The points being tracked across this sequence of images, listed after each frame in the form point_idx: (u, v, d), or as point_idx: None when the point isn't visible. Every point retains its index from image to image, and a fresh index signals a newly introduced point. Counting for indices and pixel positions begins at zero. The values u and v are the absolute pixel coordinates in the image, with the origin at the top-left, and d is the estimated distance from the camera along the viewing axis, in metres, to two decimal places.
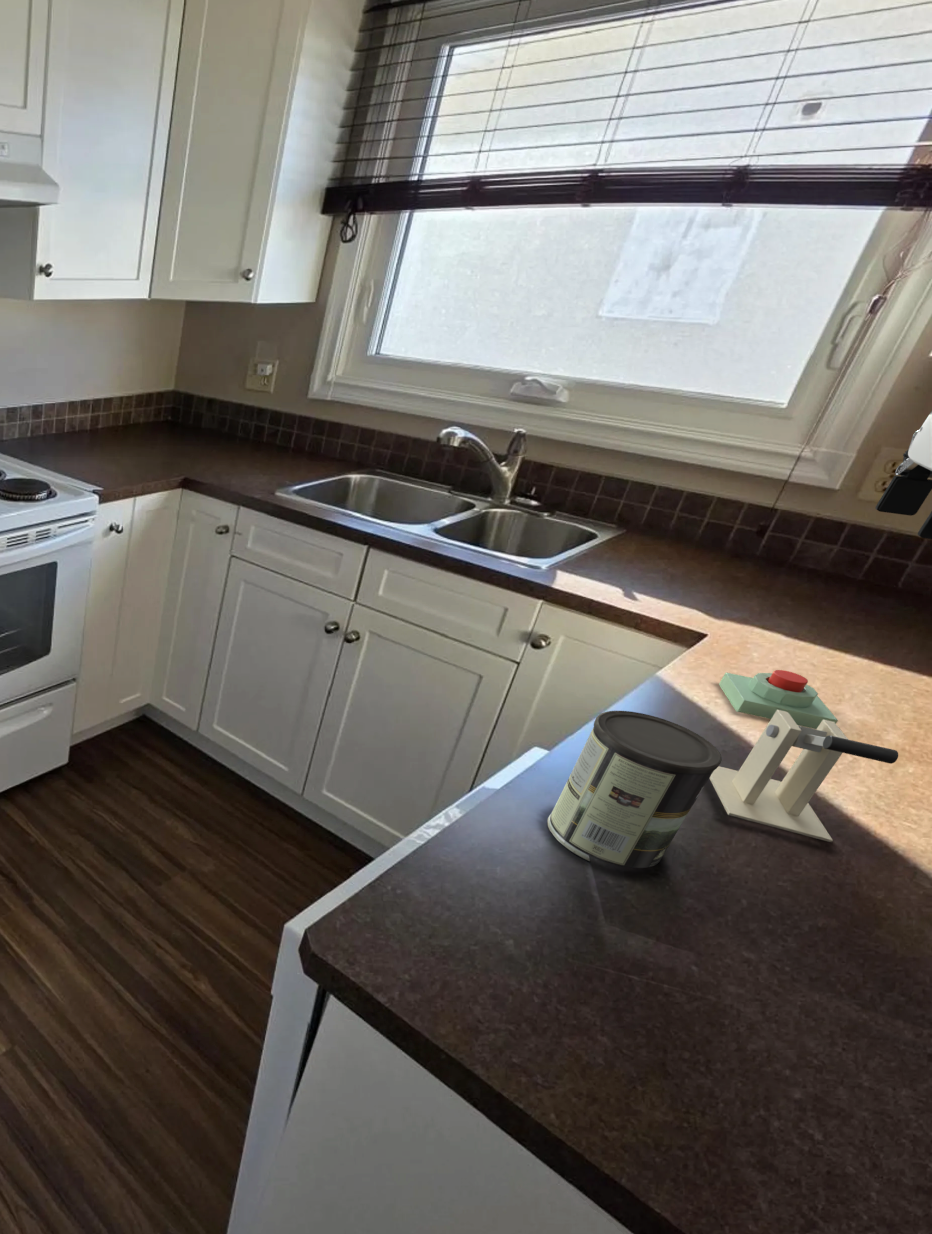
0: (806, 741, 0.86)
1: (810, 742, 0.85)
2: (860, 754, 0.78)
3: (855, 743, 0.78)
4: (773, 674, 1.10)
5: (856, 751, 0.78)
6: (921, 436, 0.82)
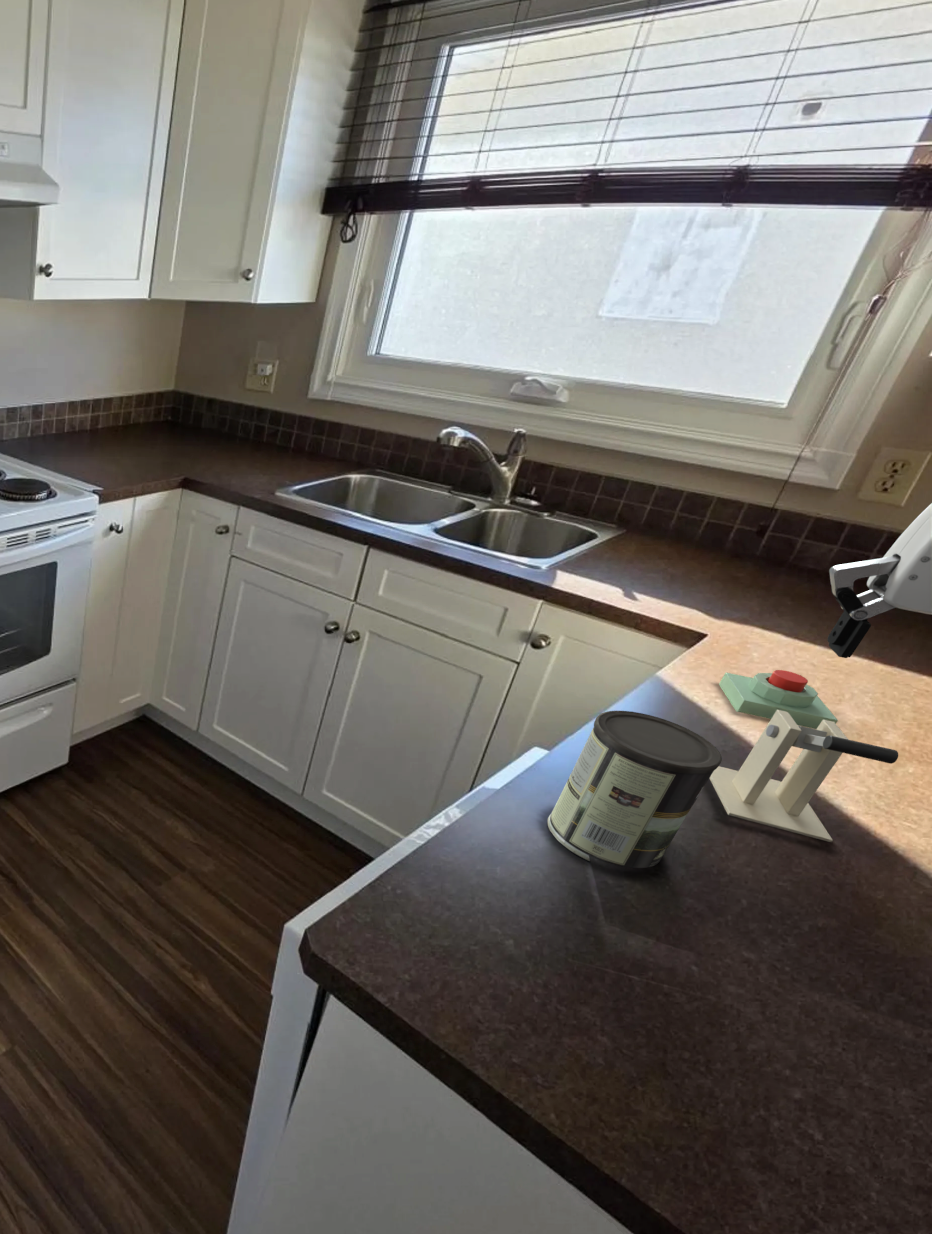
0: (806, 741, 0.86)
1: (810, 742, 0.85)
2: (860, 754, 0.78)
3: (855, 743, 0.78)
4: (773, 674, 1.10)
5: (856, 751, 0.78)
6: (926, 585, 0.71)
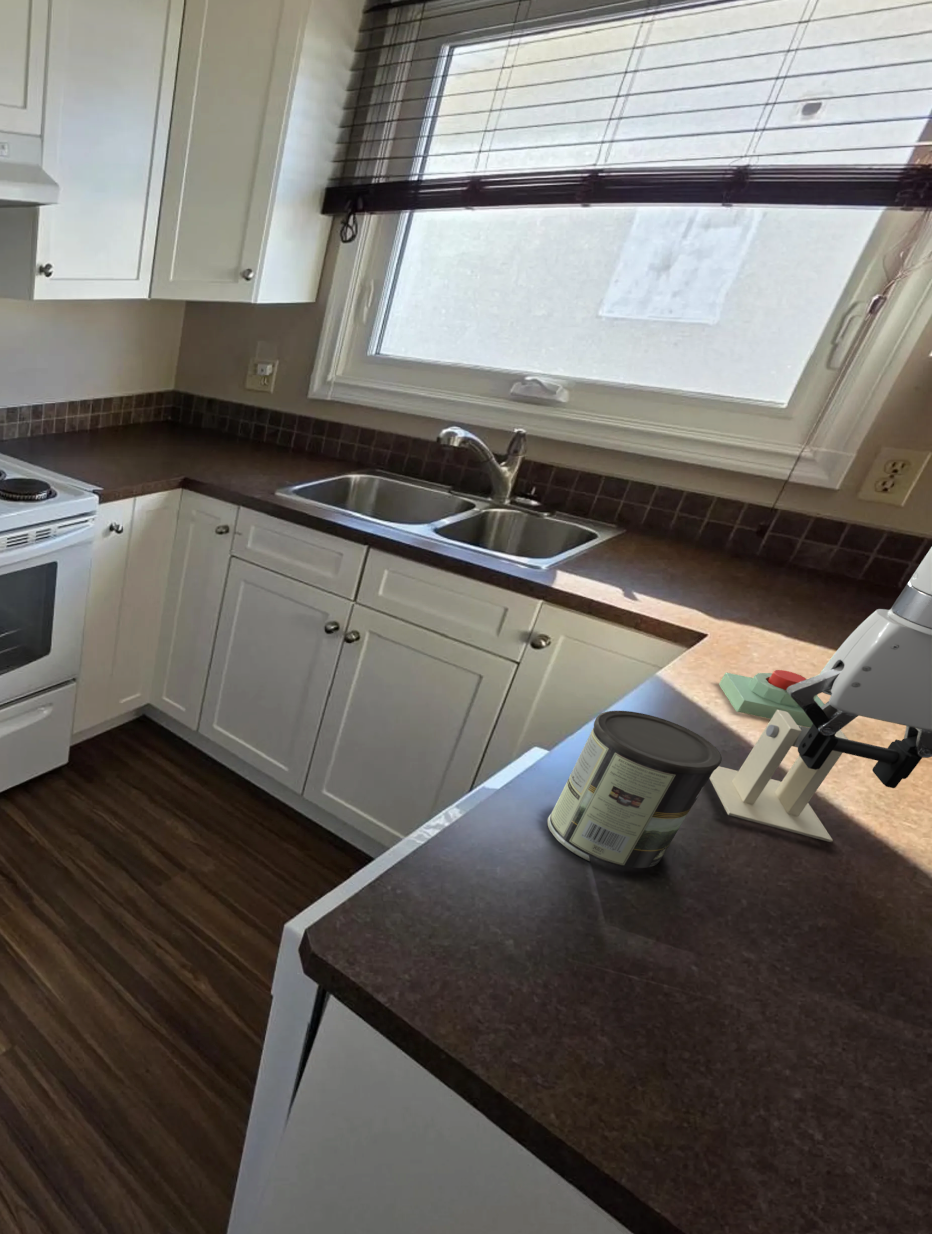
0: None
1: None
2: (860, 754, 0.78)
3: (855, 743, 0.78)
4: (773, 674, 1.10)
5: (856, 751, 0.78)
6: (868, 693, 0.75)
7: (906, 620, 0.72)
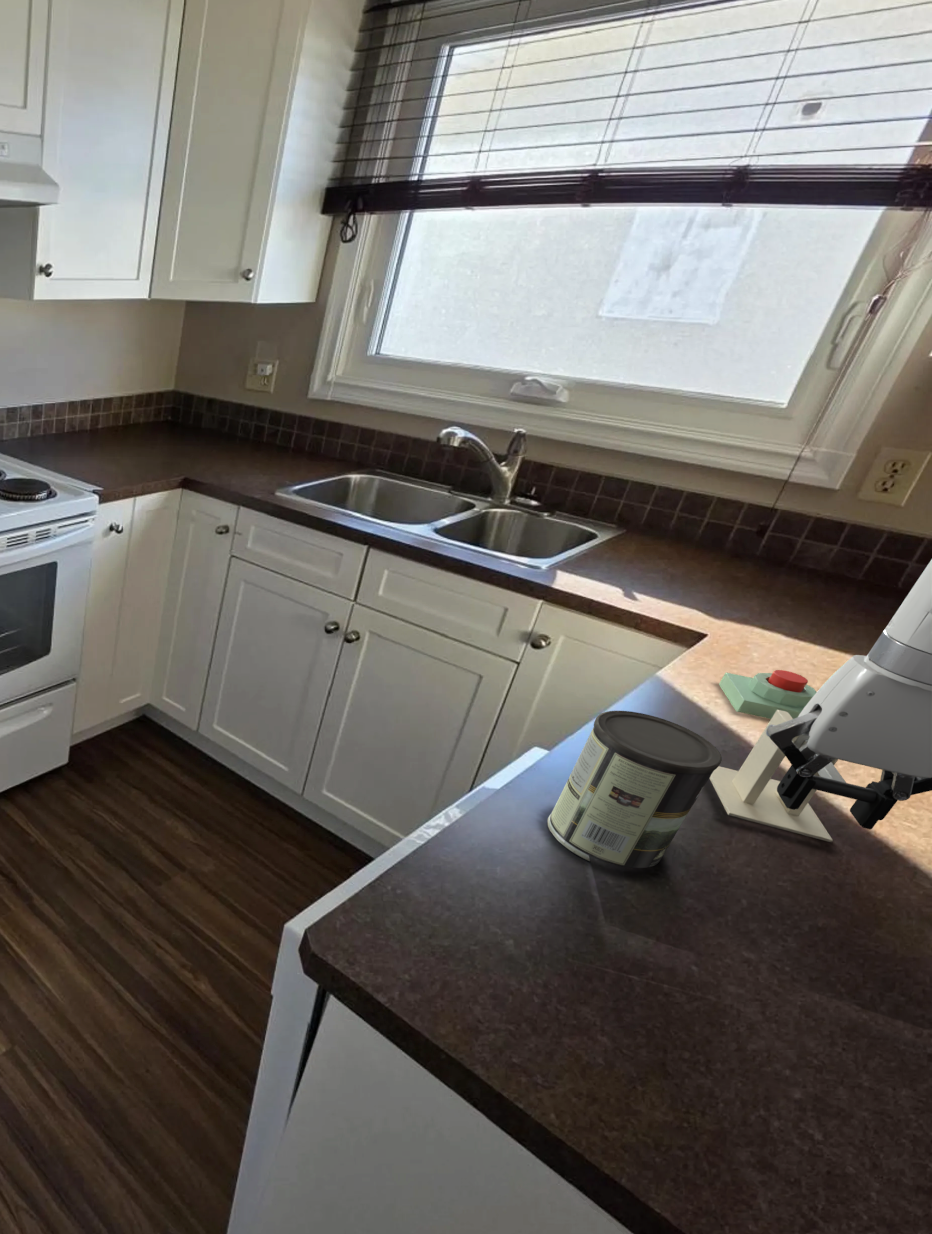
0: None
1: None
2: (837, 794, 0.80)
3: (835, 785, 0.79)
4: (773, 674, 1.10)
5: (834, 792, 0.80)
6: (844, 737, 0.76)
7: (881, 668, 0.73)
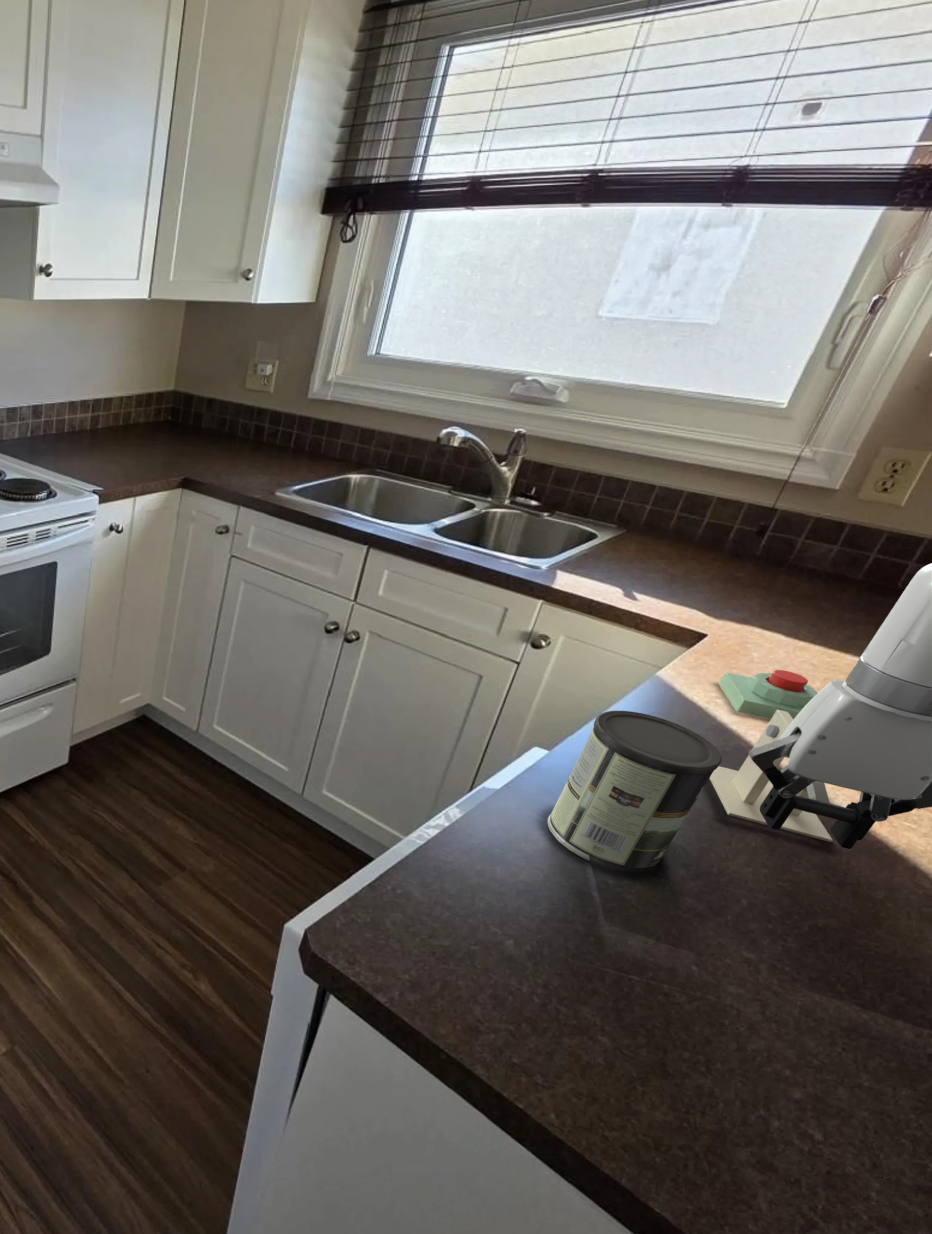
0: None
1: None
2: (818, 814, 0.82)
3: (816, 807, 0.81)
4: (773, 674, 1.10)
5: (814, 813, 0.82)
6: (823, 760, 0.78)
7: (858, 693, 0.75)
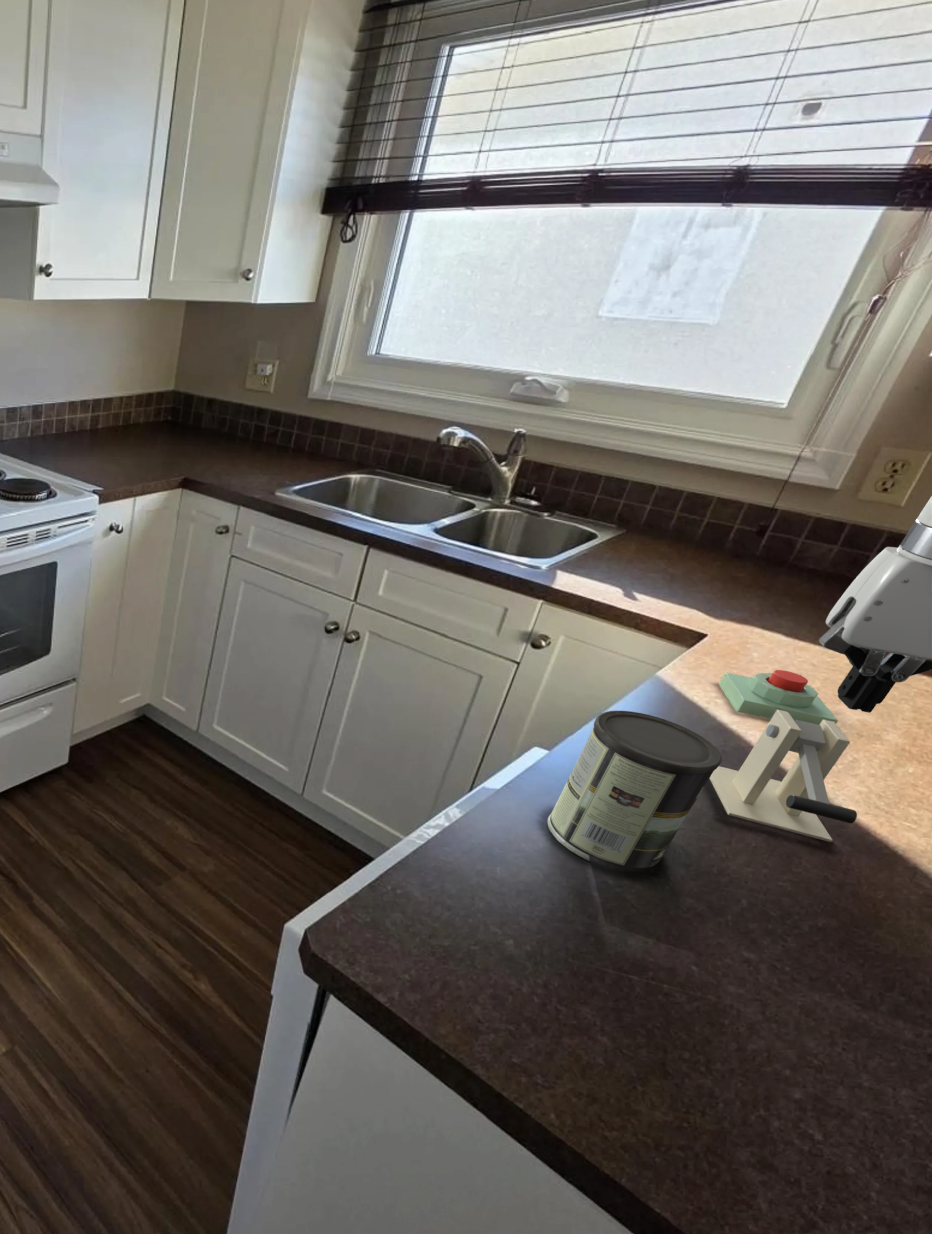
0: (798, 751, 0.87)
1: (799, 756, 0.86)
2: (817, 814, 0.82)
3: (815, 808, 0.81)
4: (773, 674, 1.10)
5: (814, 813, 0.82)
6: (879, 626, 0.79)
7: (915, 555, 0.76)
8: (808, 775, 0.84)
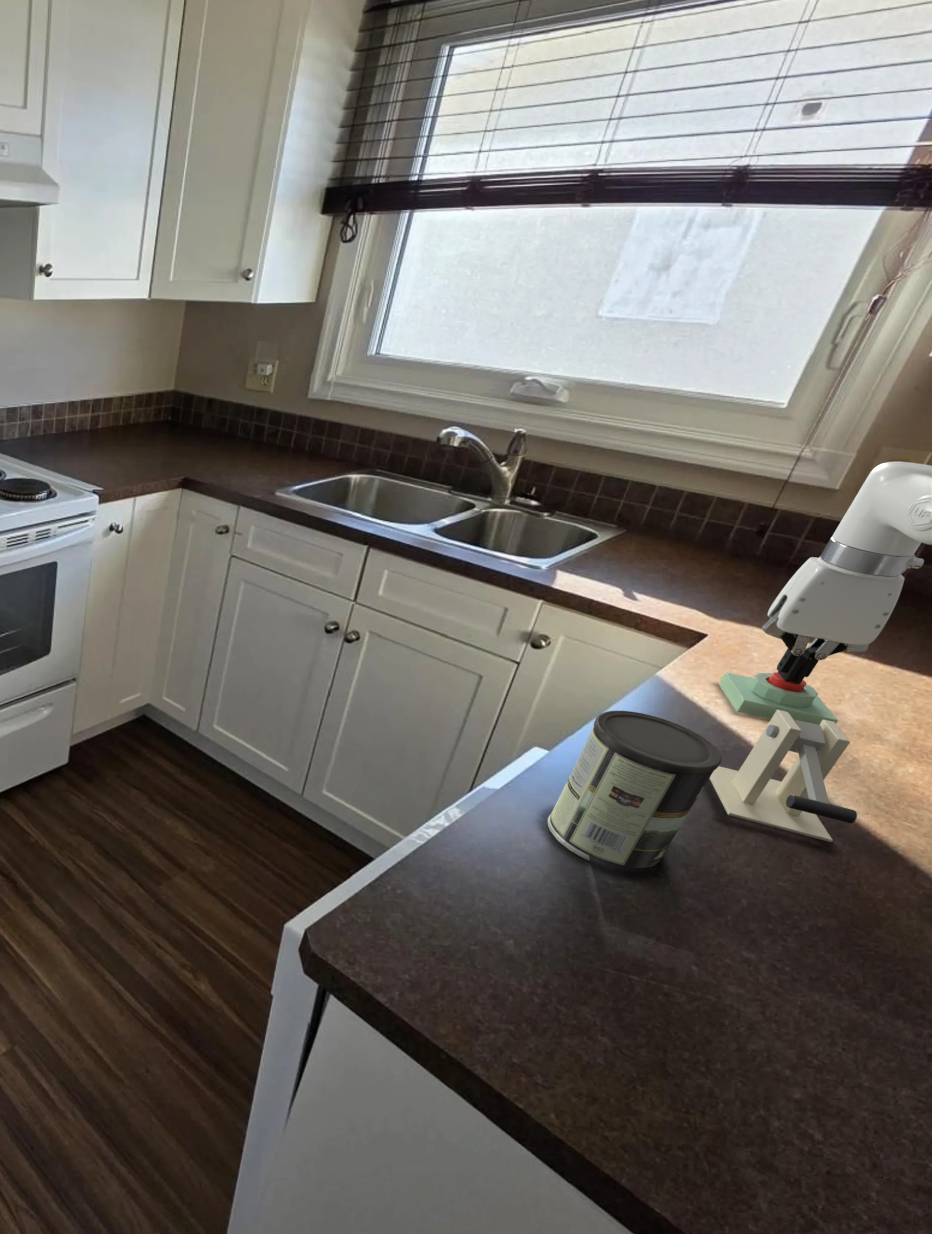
0: (798, 751, 0.87)
1: (799, 756, 0.86)
2: (817, 814, 0.82)
3: (815, 808, 0.81)
4: (772, 676, 1.11)
5: (814, 813, 0.82)
6: (803, 617, 1.05)
7: (829, 563, 1.02)
8: (808, 775, 0.84)
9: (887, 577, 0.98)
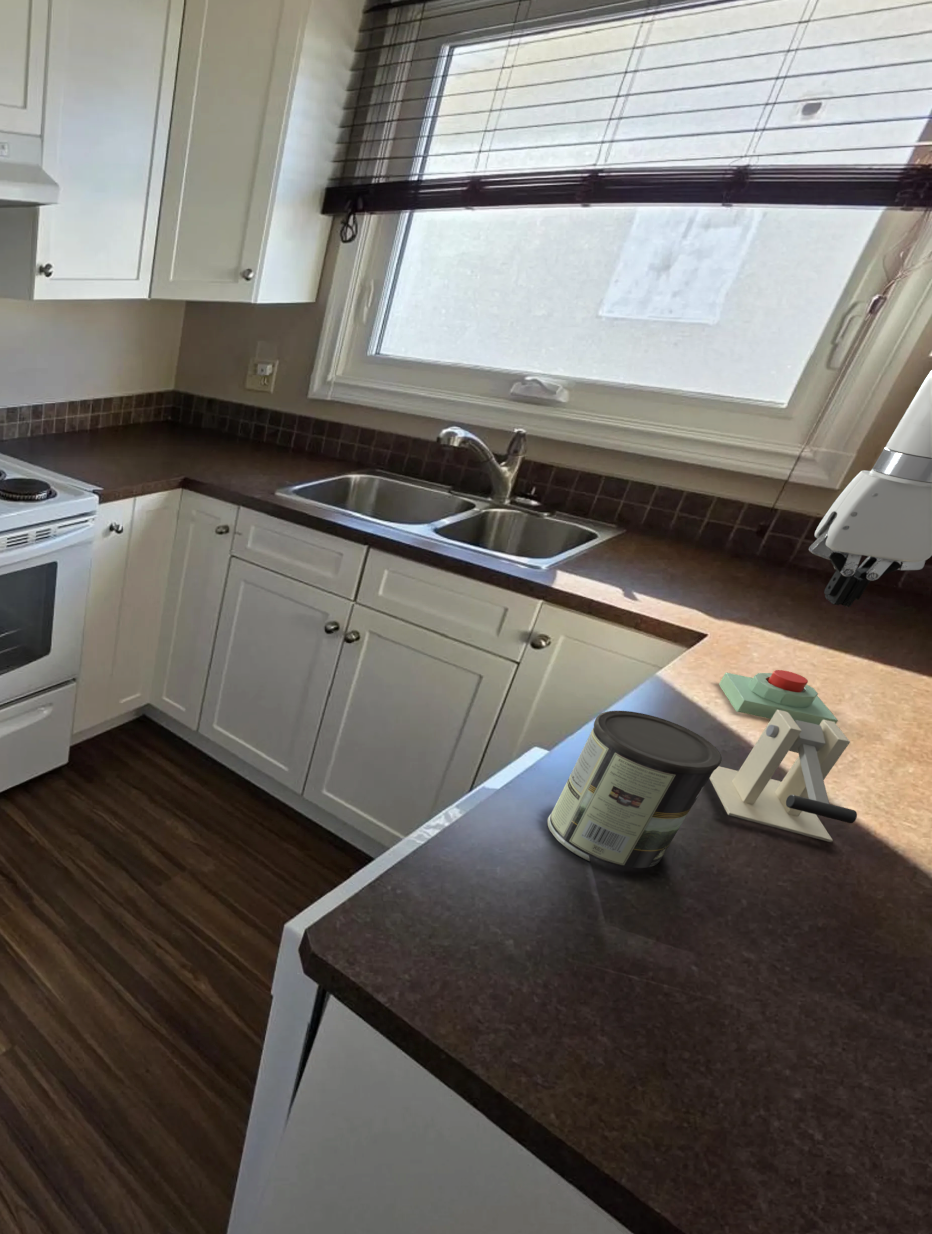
0: (798, 751, 0.87)
1: (799, 756, 0.86)
2: (817, 814, 0.82)
3: (815, 808, 0.81)
4: (773, 674, 1.10)
5: (814, 813, 0.82)
6: (854, 533, 0.99)
7: (883, 474, 0.96)
8: (808, 775, 0.84)
9: None
